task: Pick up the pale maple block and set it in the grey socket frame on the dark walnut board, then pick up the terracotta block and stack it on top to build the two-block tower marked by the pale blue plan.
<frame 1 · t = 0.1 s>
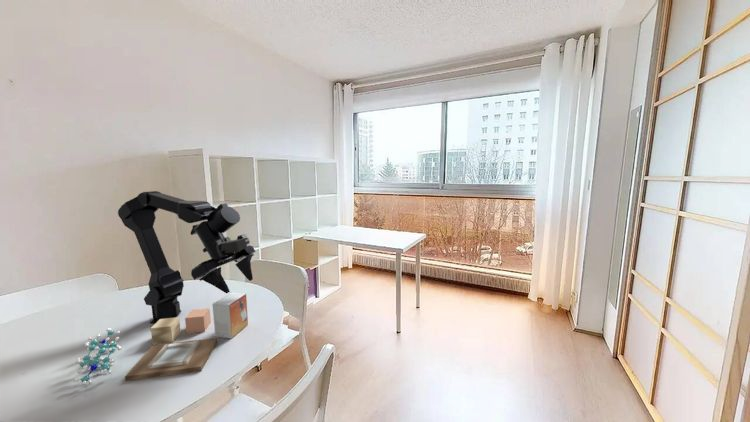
hand: (240, 286, 82), 15 cm above the table, tool tilted 30°, fingers open, 9 cm apart
small box: (232, 331, 86), on the table
terracotta block: (199, 328, 87), on the table
molecule model: (102, 367, 70), on the table
walnut board: (176, 359, 73), on the table
maple block: (167, 338, 82), on the table
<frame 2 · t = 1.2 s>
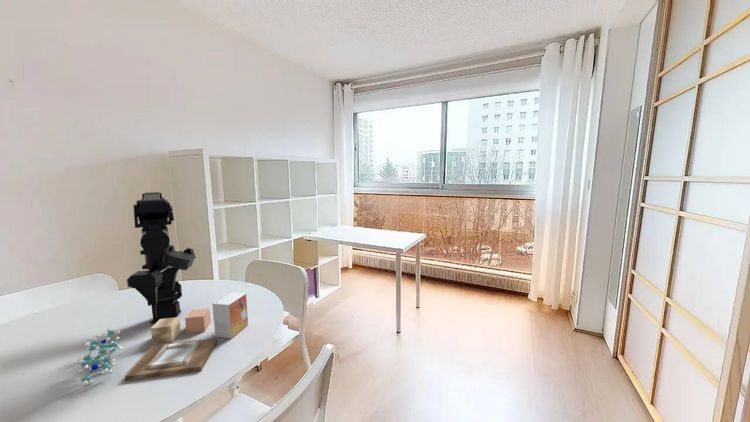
hand: (163, 297, 80), 12 cm above the table, tool pointing down, fingers open, 9 cm apart
nothing on the table moved.
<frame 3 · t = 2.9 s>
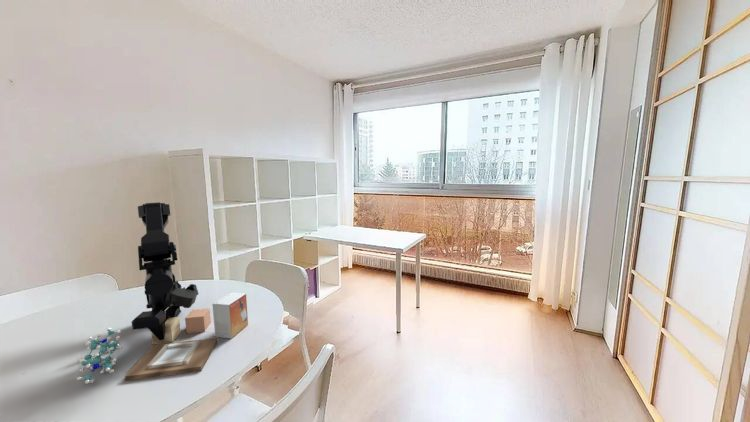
hand: (166, 334, 82), 1 cm above the table, tool pointing down, fingers closed on maple block, 5 cm apart
maple block: (167, 338, 82), on the table, touching gripper
everything else where it was.
when the fingers open (4 cm above the table, at t = 8.0 s): maple block drops 1 cm, resting on walnut board.
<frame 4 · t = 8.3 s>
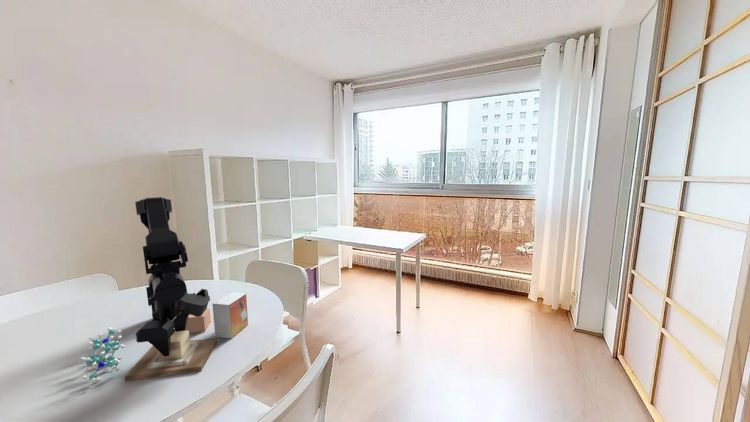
hand: (174, 345, 72), 4 cm above the table, tool pointing down, fingers open, 8 cm apart
maple block: (175, 354, 73), point 1 cm above the table, touching walnut board
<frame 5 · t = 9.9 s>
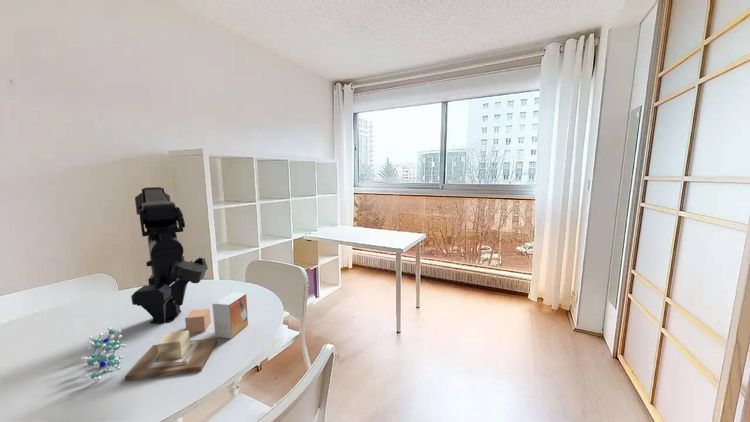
hand: (171, 313, 71), 12 cm above the table, tool pointing down, fingers open, 9 cm apart
nothing on the table moved.
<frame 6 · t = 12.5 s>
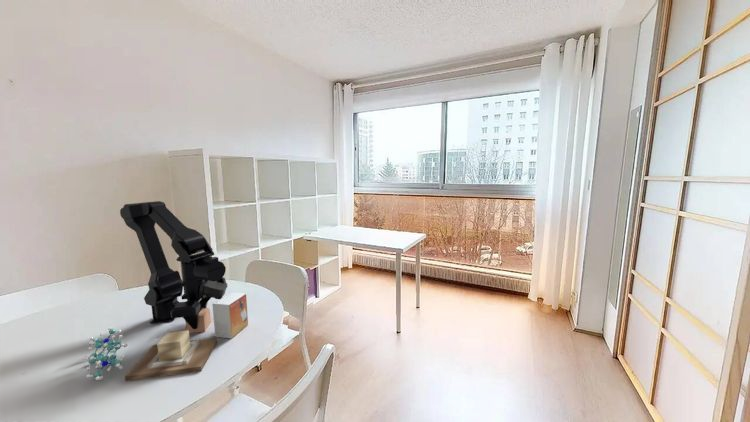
hand: (198, 324, 87), 1 cm above the table, tool pointing down, fingers closed on terracotta block, 5 cm apart
terracotta block: (199, 327, 87), on the table, touching gripper
when the fingers open (8 cm above the table, at t = 17.1 s): terracotta block stays where it is, resting on maple block.
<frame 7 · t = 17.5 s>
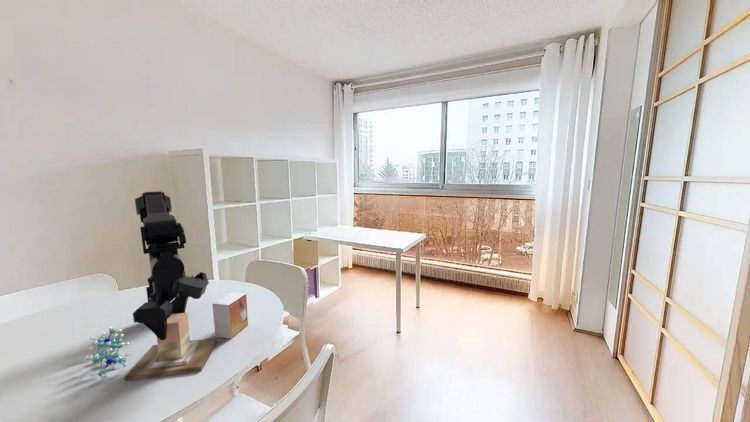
hand: (172, 328, 72), 8 cm above the table, tool pointing down, fingers open, 9 cm apart
terracotta block: (174, 336, 72), point 6 cm above the table, touching maple block
maple block: (175, 354, 73), point 1 cm above the table, touching terracotta block, walnut board
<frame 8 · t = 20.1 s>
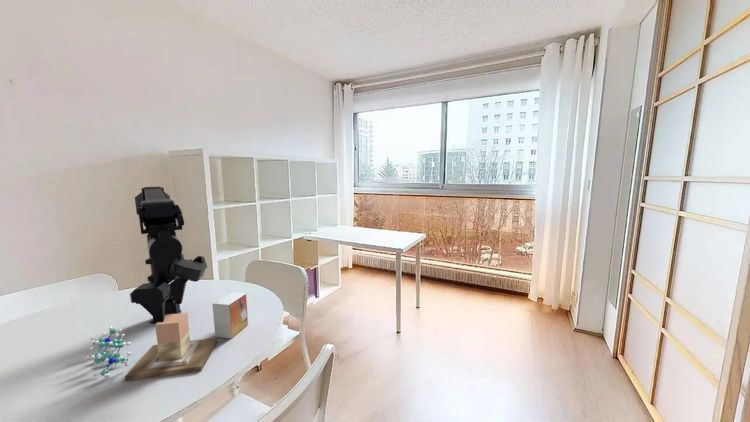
hand: (170, 312, 71), 13 cm above the table, tool pointing down, fingers open, 9 cm apart
at the end: maple block 0.0 cm off-centre on the walnut board, point 1.3 cm above the walnut board's base; terracotta block 0.1 cm off-centre on the maple block, point 5.0 cm above the maple block's base; terracotta block tilted 0° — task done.
